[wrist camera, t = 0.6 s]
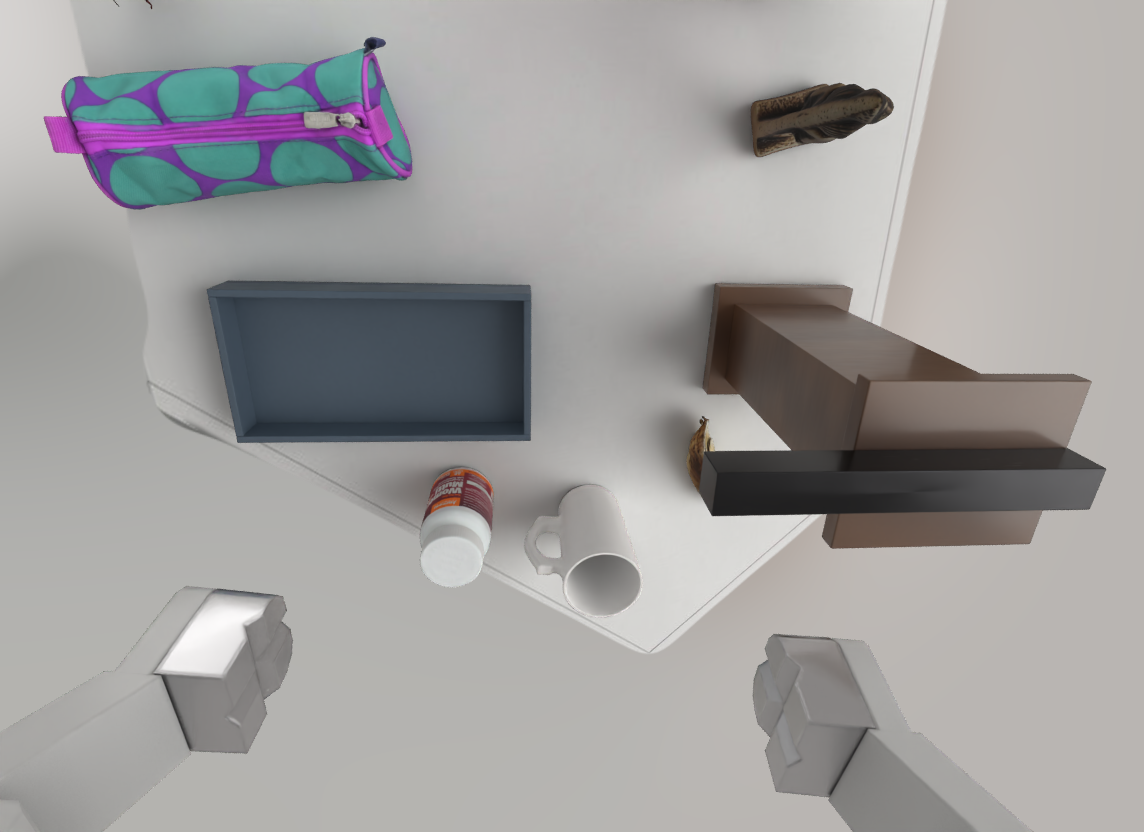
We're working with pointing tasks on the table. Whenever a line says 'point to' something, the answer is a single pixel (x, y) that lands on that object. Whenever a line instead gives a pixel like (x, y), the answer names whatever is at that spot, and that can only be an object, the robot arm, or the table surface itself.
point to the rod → (896, 481)
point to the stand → (879, 401)
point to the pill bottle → (456, 527)
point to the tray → (375, 360)
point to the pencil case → (233, 129)
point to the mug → (590, 552)
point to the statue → (815, 116)
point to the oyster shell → (698, 452)
